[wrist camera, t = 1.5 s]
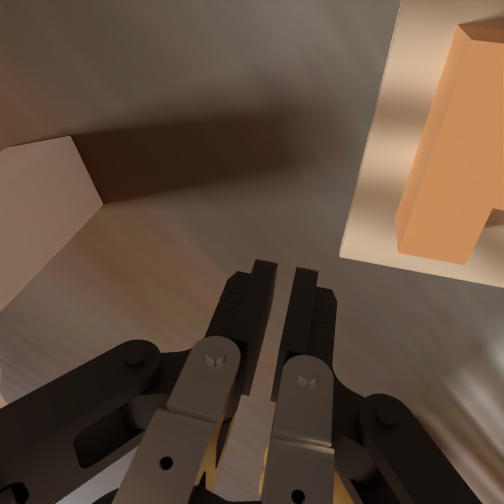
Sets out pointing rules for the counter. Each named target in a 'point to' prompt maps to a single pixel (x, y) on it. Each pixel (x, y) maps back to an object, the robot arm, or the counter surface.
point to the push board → (415, 141)
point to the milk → (40, 207)
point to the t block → (458, 153)
